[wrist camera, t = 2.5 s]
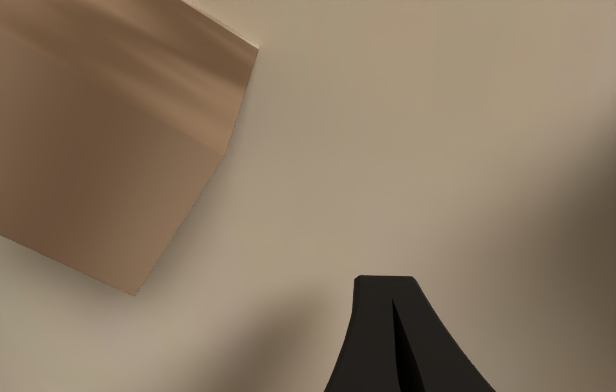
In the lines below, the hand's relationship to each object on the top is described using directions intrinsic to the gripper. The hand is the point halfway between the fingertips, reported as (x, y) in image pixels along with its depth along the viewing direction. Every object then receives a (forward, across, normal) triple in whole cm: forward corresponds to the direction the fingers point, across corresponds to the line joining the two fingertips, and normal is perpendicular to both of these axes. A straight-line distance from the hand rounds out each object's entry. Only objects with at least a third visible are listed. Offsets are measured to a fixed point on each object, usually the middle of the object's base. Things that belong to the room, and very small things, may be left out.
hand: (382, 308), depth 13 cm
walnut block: (+6, +6, -4) cm, 10 cm away
